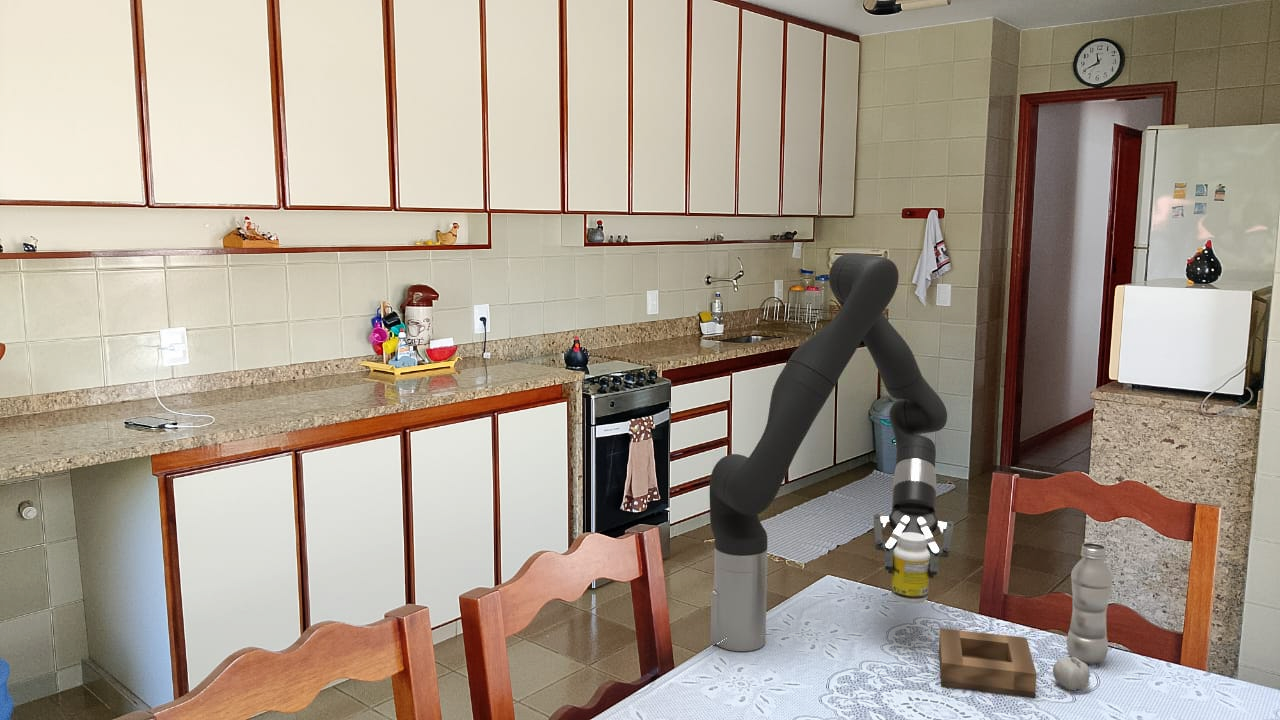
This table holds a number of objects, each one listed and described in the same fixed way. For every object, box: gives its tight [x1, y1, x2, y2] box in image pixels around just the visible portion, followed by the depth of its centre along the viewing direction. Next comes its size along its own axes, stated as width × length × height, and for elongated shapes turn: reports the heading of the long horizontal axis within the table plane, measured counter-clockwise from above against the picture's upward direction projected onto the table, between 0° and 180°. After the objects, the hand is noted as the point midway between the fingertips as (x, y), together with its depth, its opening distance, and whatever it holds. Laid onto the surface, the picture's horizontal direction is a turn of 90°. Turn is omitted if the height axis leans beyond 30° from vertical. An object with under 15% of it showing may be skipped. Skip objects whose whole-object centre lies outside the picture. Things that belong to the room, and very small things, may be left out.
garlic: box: [1052, 656, 1091, 691], centre depth 153 cm, size 6×5×5 cm
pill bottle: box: [890, 532, 930, 604], centre depth 166 cm, size 6×6×11 cm
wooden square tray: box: [938, 627, 1037, 699], centre depth 157 cm, size 14×14×4 cm
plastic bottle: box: [1065, 542, 1113, 665], centre depth 161 cm, size 6×7×20 cm
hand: (910, 573), depth 164 cm, fingers closed on pill bottle, 6 cm apart
